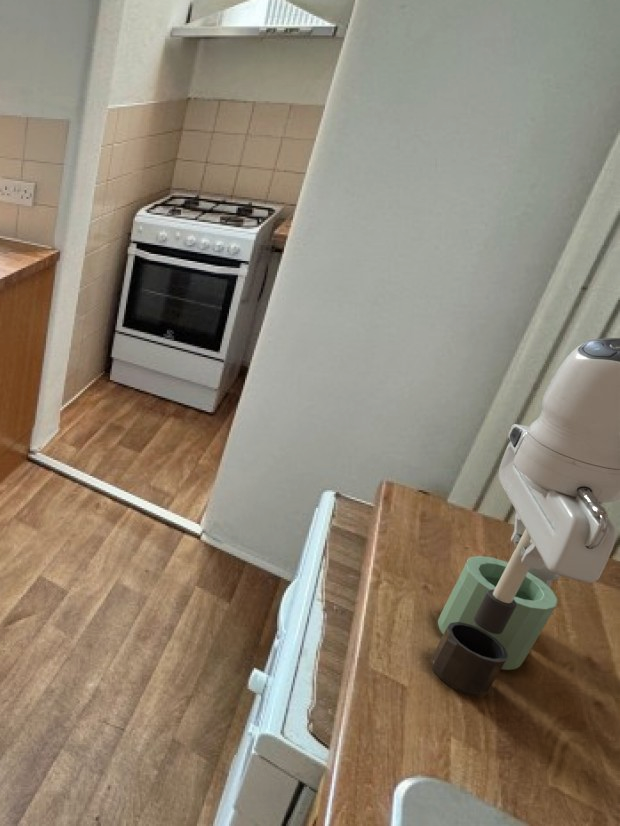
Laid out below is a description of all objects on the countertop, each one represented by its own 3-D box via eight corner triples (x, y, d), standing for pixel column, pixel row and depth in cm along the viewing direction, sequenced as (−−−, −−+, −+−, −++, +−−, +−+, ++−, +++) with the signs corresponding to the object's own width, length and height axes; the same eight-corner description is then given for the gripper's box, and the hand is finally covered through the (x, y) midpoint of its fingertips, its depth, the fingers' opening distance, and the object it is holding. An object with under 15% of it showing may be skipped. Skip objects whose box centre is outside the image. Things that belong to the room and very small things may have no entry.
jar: (510, 632, 91) (543, 573, 87) (531, 681, 84) (568, 620, 79) (431, 604, 96) (459, 547, 91) (445, 649, 88) (476, 589, 84)
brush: (498, 622, 81) (550, 524, 75) (505, 638, 79) (559, 538, 73) (471, 612, 83) (519, 515, 76) (476, 628, 80) (527, 529, 74)
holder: (480, 669, 86) (499, 634, 83) (493, 706, 81) (514, 670, 78) (426, 648, 89) (443, 614, 86) (435, 683, 84) (453, 647, 81)
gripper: (655, 531, 61) (595, 628, 67) (574, 432, 78) (531, 516, 83) (568, 508, 65) (517, 603, 70) (507, 418, 81) (470, 500, 86)
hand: (524, 555), depth 76 cm, fingers closed on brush, 2 cm apart
